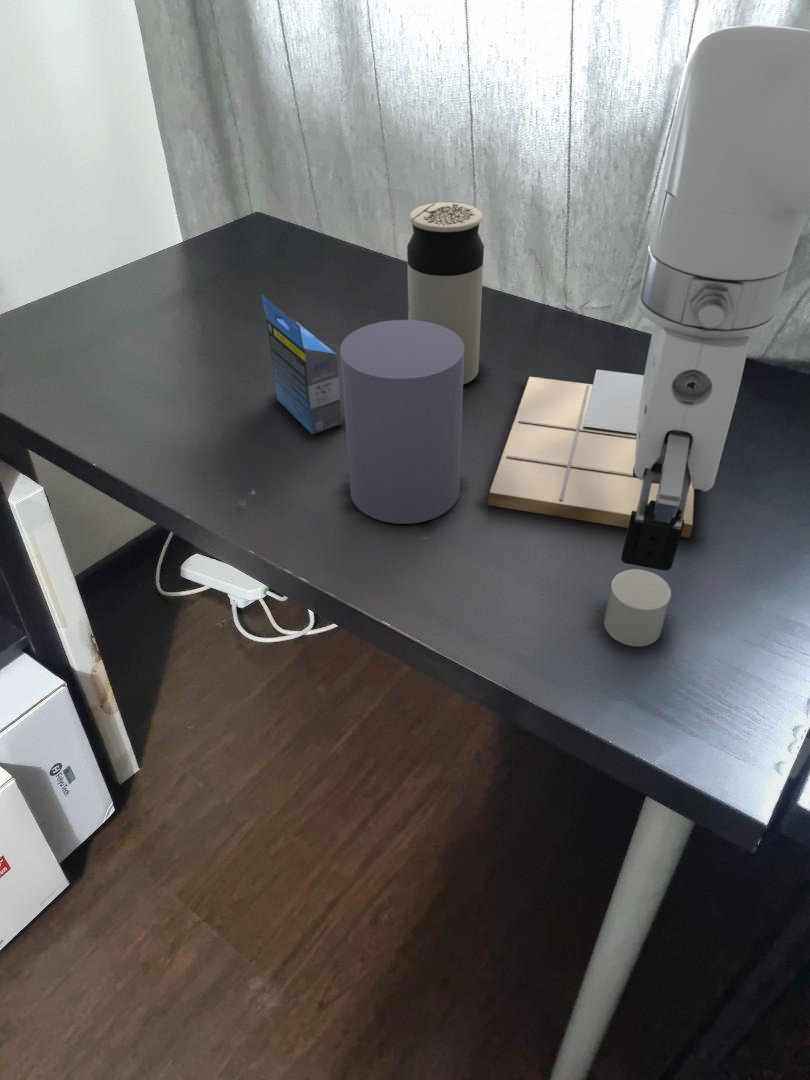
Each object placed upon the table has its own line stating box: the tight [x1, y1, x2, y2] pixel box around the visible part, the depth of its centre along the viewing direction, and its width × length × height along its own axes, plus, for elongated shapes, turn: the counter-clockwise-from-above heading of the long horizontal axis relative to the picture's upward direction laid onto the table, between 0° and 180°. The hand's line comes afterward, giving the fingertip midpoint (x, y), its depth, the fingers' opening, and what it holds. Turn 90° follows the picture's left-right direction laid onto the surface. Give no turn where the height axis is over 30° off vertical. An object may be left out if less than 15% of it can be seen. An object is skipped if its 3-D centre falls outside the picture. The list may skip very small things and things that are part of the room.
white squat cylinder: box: [603, 569, 672, 647], centre depth 63 cm, size 4×4×4 cm
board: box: [487, 369, 695, 538], centre depth 83 cm, size 18×25×2 cm
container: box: [339, 319, 464, 525], centre depth 73 cm, size 10×10×15 cm
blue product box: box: [261, 294, 343, 435], centre depth 85 cm, size 9×4×12 cm, turn 32°
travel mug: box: [406, 201, 485, 385], centre depth 89 cm, size 8×8×18 cm
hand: (650, 518), depth 58 cm, fingers open, 9 cm apart
